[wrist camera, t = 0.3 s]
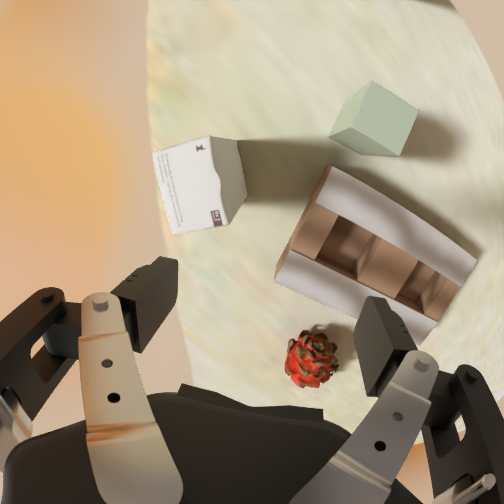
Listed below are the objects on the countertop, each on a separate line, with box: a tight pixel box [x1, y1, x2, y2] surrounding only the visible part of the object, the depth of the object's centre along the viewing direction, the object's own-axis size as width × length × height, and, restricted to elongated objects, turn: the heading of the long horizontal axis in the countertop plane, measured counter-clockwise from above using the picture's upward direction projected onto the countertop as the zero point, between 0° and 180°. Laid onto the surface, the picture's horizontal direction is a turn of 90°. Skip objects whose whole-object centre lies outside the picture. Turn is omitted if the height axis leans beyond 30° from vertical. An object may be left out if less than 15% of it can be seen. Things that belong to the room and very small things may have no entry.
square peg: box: [328, 81, 419, 156], centre depth 27 cm, size 5×5×14 cm
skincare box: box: [152, 136, 248, 235], centre depth 30 cm, size 8×6×15 cm
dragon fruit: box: [285, 330, 339, 388], centre depth 42 cm, size 8×8×12 cm
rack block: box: [274, 165, 477, 346], centre depth 36 cm, size 16×26×5 cm, turn 66°
